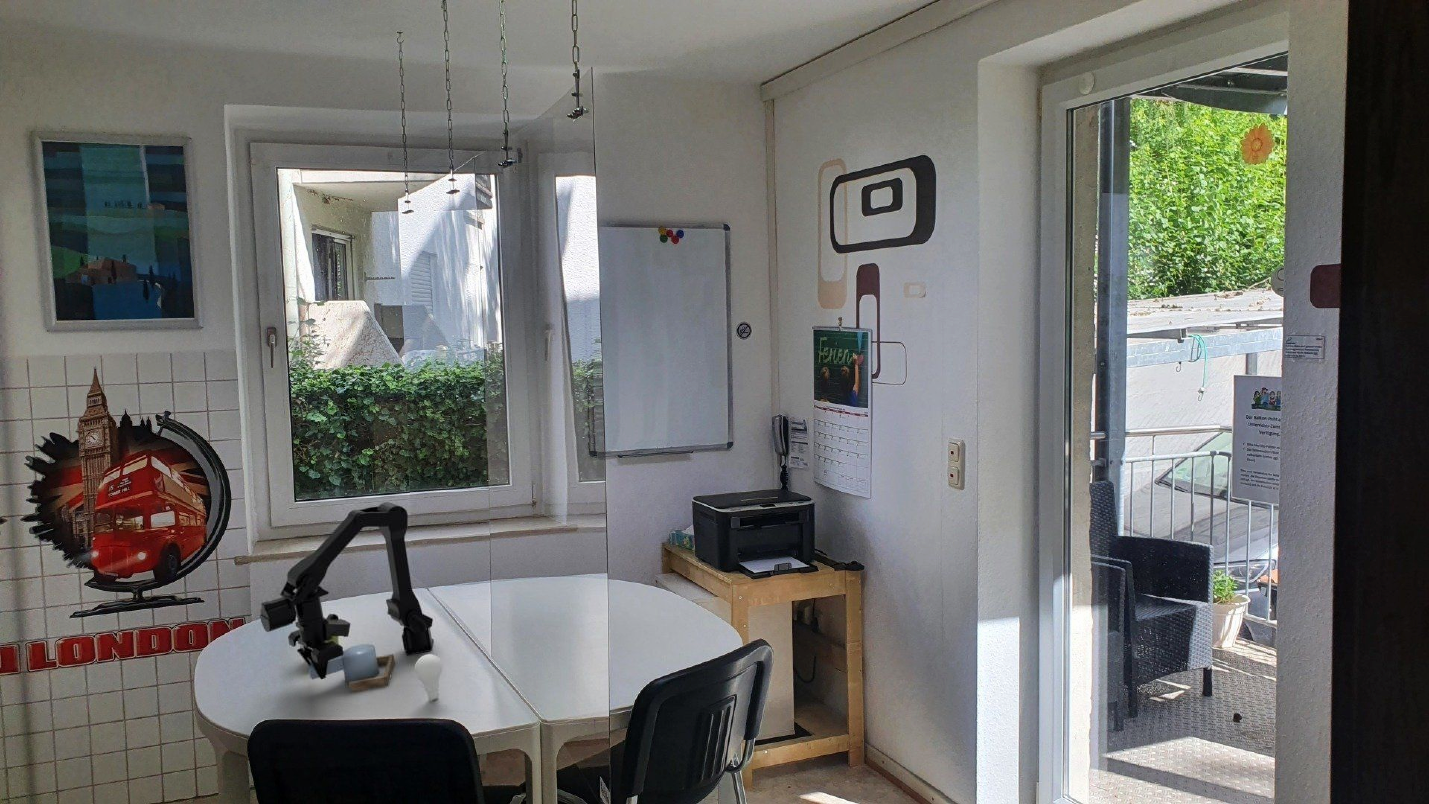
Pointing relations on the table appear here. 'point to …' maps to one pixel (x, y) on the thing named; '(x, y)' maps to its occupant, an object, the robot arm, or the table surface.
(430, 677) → the lightbulb
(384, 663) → the holder
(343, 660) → the blue scoop
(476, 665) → the table surface
